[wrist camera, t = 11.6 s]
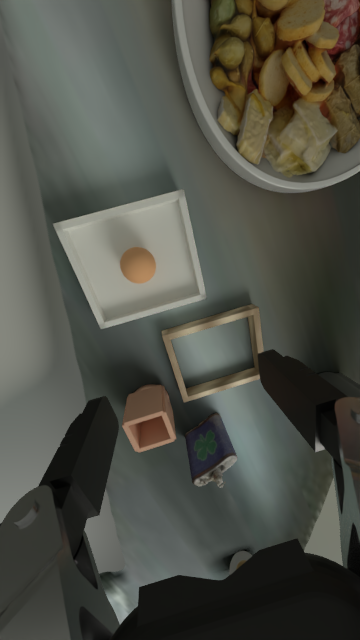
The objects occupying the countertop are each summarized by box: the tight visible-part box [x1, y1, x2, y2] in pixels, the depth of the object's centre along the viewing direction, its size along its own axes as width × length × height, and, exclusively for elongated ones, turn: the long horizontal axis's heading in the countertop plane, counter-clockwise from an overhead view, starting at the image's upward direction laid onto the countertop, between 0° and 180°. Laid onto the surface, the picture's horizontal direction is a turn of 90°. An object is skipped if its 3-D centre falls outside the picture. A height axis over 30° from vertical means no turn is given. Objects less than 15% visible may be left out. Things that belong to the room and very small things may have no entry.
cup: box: [122, 384, 176, 452], centre depth 32 cm, size 7×7×7 cm
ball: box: [120, 247, 156, 284], centre depth 24 cm, size 4×4×4 cm
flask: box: [185, 413, 237, 488], centre depth 35 cm, size 9×3×11 cm, turn 129°
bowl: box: [172, 0, 360, 193], centre depth 18 cm, size 30×30×8 cm
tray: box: [53, 189, 207, 329], centre depth 26 cm, size 16×14×3 cm
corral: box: [162, 304, 263, 402], centre depth 33 cm, size 16×14×2 cm
